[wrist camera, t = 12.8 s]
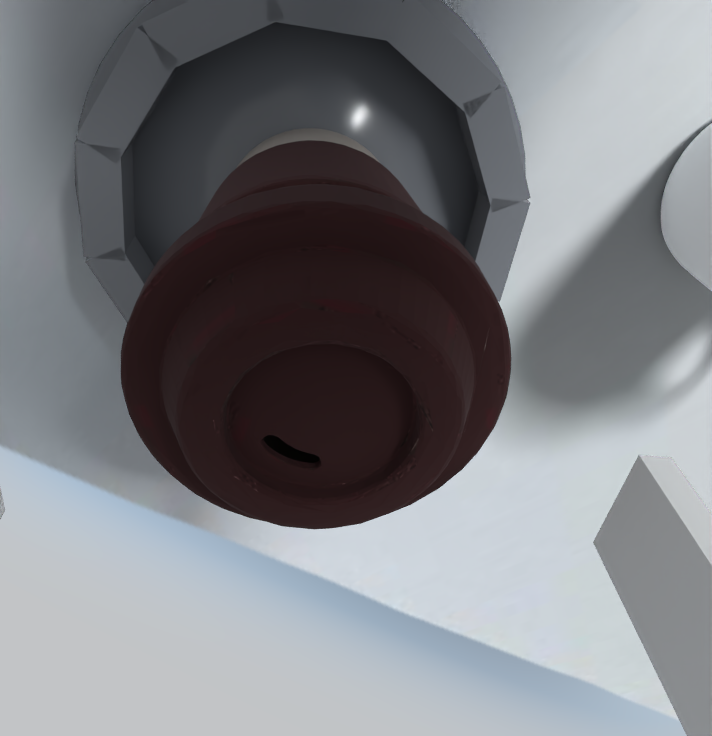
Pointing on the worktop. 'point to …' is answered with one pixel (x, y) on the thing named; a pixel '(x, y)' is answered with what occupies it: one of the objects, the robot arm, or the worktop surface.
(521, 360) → the worktop surface
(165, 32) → the bowl
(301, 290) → the coffee cup
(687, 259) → the mug
